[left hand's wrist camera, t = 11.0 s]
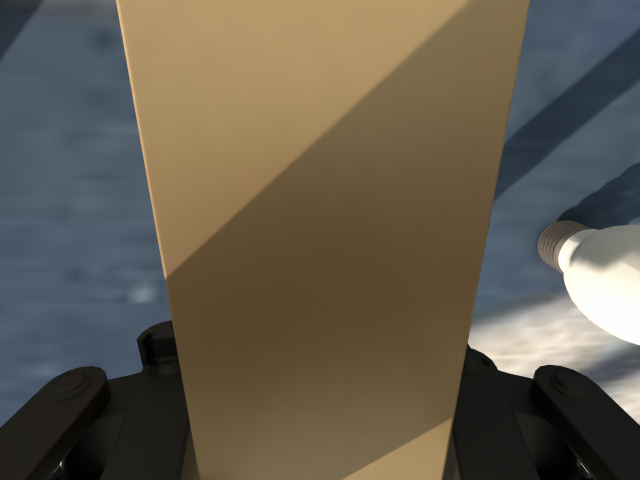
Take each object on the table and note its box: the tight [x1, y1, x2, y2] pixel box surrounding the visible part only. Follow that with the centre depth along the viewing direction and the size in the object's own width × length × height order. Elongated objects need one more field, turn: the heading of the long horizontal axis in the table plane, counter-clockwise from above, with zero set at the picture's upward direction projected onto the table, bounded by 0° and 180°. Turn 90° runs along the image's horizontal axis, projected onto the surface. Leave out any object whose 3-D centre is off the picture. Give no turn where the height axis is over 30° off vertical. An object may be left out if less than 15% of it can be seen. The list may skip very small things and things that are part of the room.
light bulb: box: [538, 220, 640, 345], centre depth 21 cm, size 7×7×11 cm
